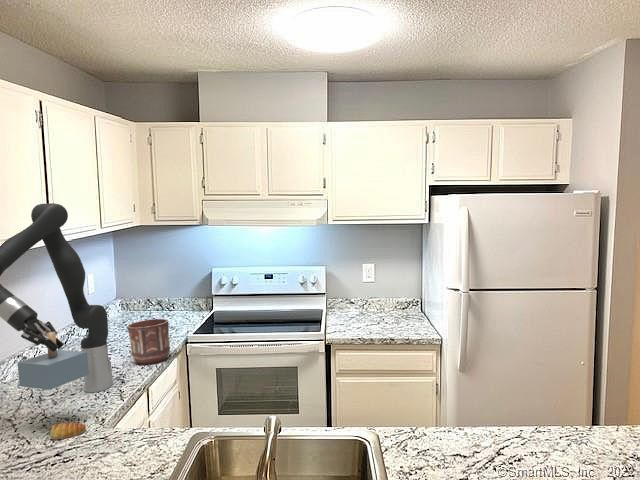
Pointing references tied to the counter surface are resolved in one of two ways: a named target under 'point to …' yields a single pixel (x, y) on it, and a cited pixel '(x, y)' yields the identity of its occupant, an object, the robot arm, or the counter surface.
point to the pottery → (149, 340)
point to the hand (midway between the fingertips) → (58, 347)
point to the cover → (52, 368)
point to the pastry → (66, 430)
